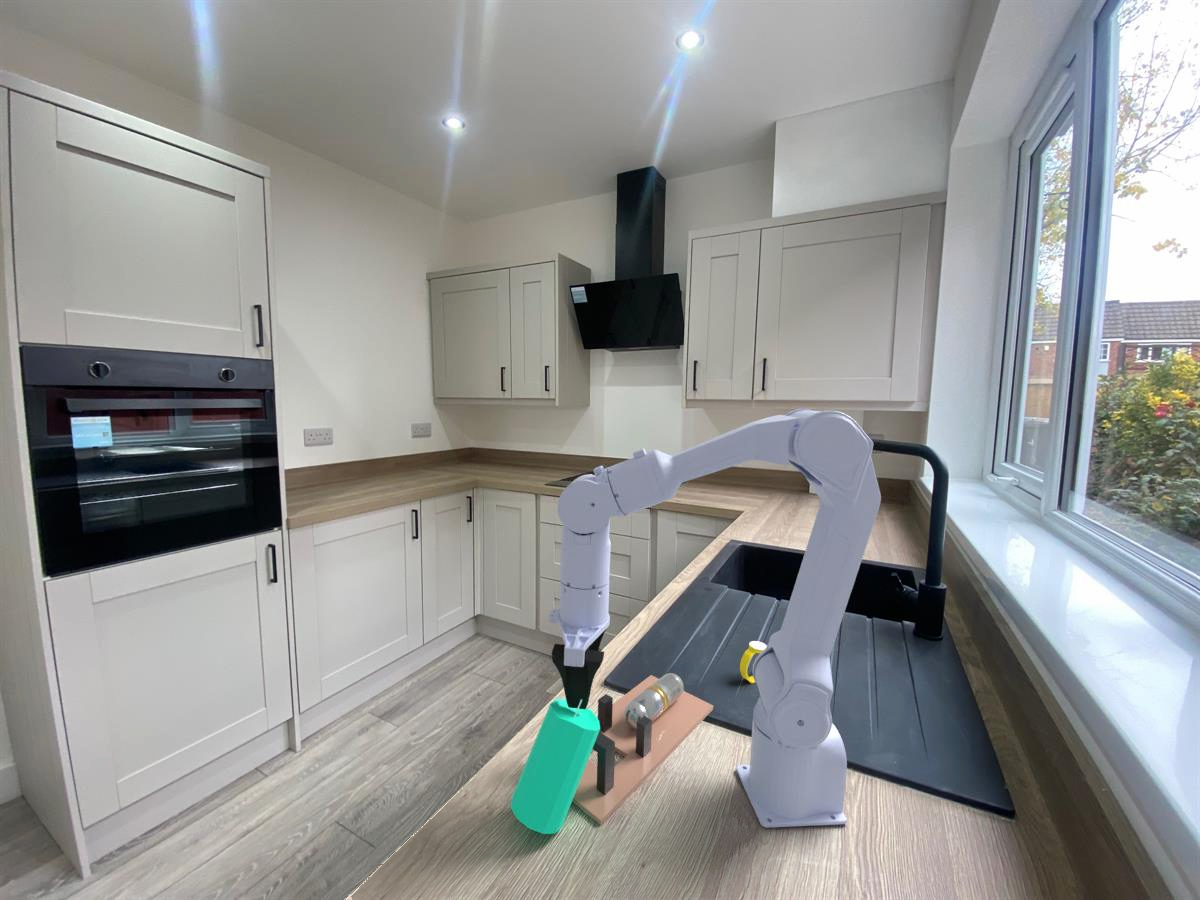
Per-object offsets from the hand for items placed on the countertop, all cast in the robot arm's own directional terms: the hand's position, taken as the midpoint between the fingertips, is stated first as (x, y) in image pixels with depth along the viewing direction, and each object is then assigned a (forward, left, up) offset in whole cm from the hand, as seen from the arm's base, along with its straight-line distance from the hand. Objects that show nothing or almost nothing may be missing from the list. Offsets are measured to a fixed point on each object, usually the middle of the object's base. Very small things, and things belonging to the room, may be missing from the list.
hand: (581, 689), depth 55 cm
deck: (-7, -5, -10) cm, 14 cm away
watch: (-29, -17, -11) cm, 35 cm away
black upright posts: (-3, -1, -10) cm, 10 cm away
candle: (+5, +7, -9) cm, 13 cm away
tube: (-11, -9, -10) cm, 17 cm away
